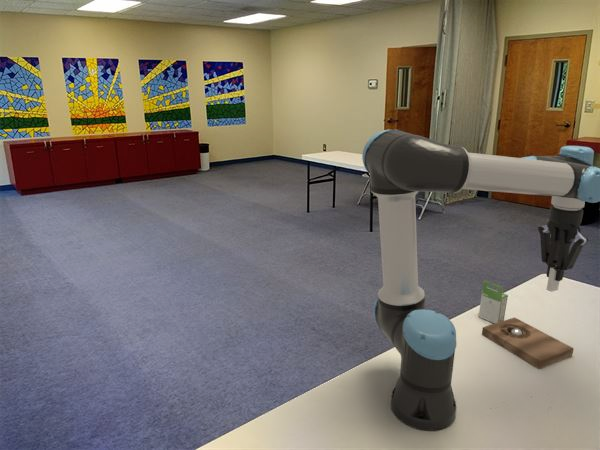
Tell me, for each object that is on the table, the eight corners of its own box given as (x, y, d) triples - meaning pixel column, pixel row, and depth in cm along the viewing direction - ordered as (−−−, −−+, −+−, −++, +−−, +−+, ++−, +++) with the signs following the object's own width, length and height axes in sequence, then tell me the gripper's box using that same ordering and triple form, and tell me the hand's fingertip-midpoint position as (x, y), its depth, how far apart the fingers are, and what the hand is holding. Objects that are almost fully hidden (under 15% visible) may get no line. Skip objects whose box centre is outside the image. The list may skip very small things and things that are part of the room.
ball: (516, 344, 140) (518, 338, 138) (506, 336, 142) (509, 330, 140) (523, 337, 141) (526, 331, 139) (513, 330, 143) (516, 324, 141)
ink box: (504, 321, 151) (509, 284, 147) (497, 325, 149) (502, 287, 145) (485, 313, 156) (489, 277, 152) (478, 317, 154) (482, 280, 150)
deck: (572, 355, 132) (573, 348, 131) (538, 368, 126) (540, 360, 126) (513, 324, 149) (514, 317, 149) (481, 334, 143) (482, 327, 143)
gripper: (601, 211, 116) (583, 296, 123) (553, 199, 127) (540, 278, 134) (582, 214, 113) (565, 302, 120) (535, 202, 124) (522, 283, 131)
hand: (552, 289), depth 127 cm, fingers closed
